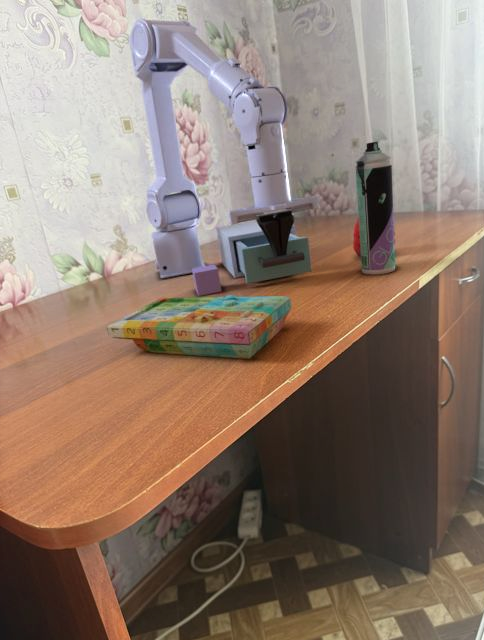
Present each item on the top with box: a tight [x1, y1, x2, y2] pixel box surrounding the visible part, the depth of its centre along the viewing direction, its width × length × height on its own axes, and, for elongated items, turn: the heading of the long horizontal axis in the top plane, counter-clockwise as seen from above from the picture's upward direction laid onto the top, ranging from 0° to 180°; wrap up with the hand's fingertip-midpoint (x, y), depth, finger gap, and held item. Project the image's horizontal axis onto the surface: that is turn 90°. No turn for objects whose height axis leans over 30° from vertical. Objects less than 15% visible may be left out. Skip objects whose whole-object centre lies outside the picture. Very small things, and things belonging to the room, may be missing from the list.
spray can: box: [355, 141, 396, 275], centre depth 80 cm, size 6×6×20 cm
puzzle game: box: [106, 294, 292, 360], centre depth 63 cm, size 12×5×20 cm
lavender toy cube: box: [191, 263, 222, 297], centre depth 86 cm, size 4×4×4 cm
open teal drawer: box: [233, 233, 312, 285], centre depth 88 cm, size 18×11×6 cm, turn 13°
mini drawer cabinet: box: [215, 220, 297, 279], centre depth 99 cm, size 15×13×8 cm
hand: (281, 261), depth 82 cm, fingers closed, pressing on open teal drawer
